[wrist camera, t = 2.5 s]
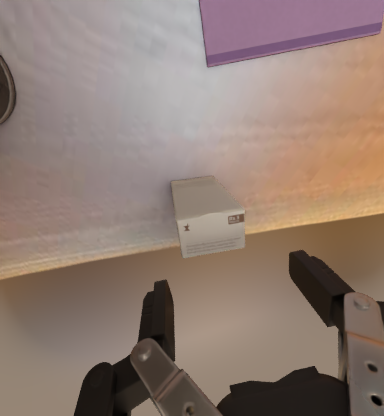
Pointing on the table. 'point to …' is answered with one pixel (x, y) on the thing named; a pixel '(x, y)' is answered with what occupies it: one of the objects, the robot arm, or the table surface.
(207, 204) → the cosmetic box
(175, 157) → the table surface
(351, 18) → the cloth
